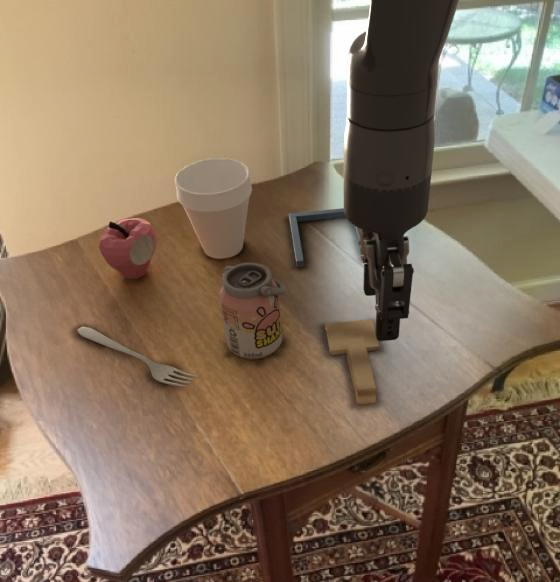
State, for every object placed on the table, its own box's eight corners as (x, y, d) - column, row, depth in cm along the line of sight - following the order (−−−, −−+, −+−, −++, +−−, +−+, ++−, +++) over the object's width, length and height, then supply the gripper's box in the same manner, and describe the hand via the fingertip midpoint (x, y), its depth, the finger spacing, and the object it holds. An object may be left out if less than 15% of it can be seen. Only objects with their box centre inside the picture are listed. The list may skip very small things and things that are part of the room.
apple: (126, 295, 106) (111, 243, 100) (98, 274, 111) (82, 223, 104) (174, 269, 111) (162, 217, 104) (145, 250, 116) (132, 199, 109)
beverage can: (260, 314, 101) (252, 247, 92) (300, 337, 96) (296, 269, 88) (215, 345, 96) (203, 278, 88) (255, 371, 92) (246, 303, 83)
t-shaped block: (393, 401, 86) (394, 386, 84) (339, 406, 86) (339, 391, 84) (372, 323, 97) (372, 308, 95) (325, 327, 97) (324, 313, 95)
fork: (87, 323, 102) (83, 314, 101) (202, 383, 91) (200, 374, 89) (71, 334, 100) (67, 325, 99) (186, 397, 89) (184, 388, 88)
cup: (218, 277, 108) (206, 203, 99) (174, 249, 115) (158, 178, 106) (272, 245, 114) (266, 172, 104) (227, 221, 121) (217, 150, 111)
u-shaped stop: (371, 260, 109) (371, 253, 108) (296, 267, 109) (296, 261, 108) (357, 212, 120) (357, 206, 119) (289, 219, 120) (288, 213, 119)
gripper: (452, 203, 51) (432, 358, 63) (413, 125, 61) (402, 271, 73) (356, 212, 51) (354, 366, 63) (333, 132, 61) (334, 277, 73)
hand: (380, 314), depth 68 cm, fingers open, 7 cm apart
